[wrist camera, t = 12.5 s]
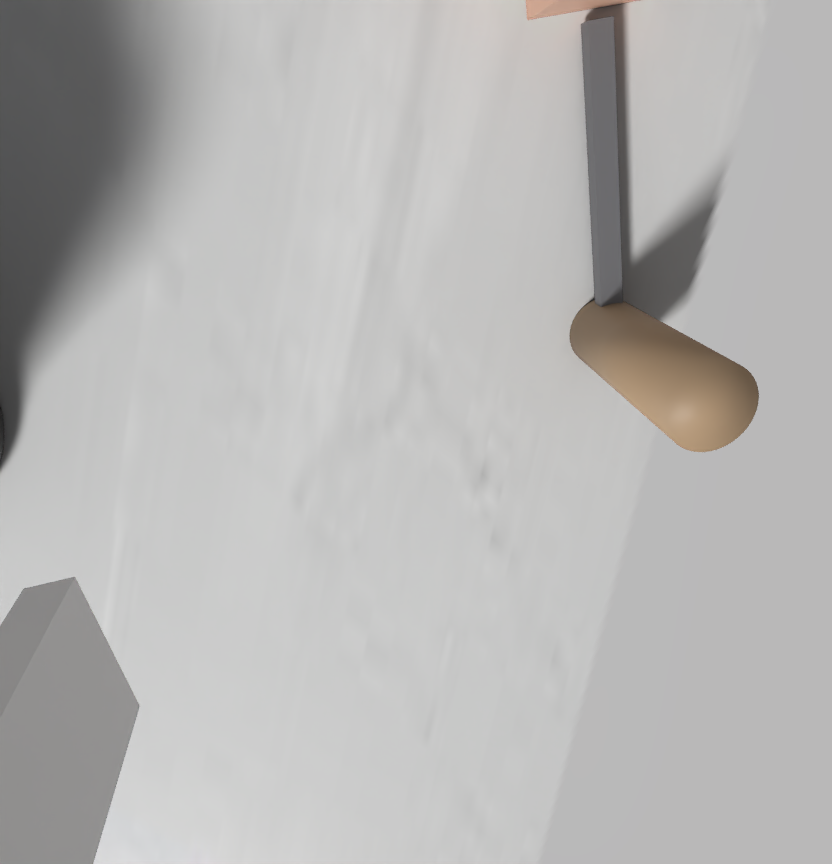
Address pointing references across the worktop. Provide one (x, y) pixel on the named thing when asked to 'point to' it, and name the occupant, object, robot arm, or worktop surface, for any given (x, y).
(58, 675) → the robot arm
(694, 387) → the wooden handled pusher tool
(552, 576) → the worktop surface
